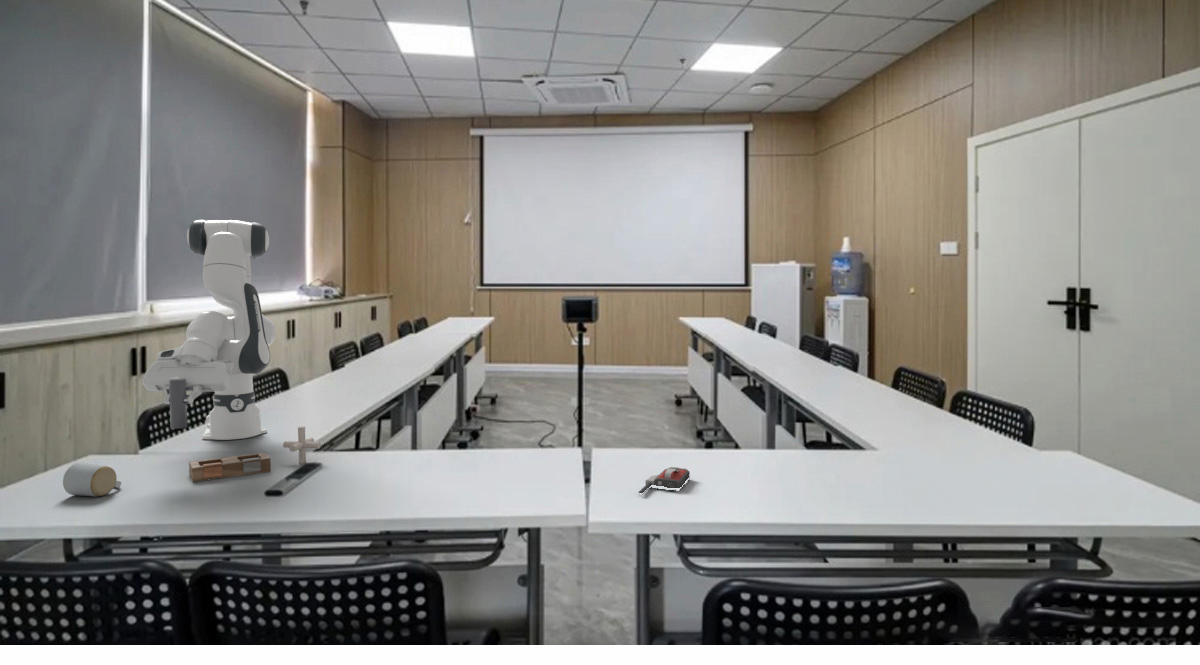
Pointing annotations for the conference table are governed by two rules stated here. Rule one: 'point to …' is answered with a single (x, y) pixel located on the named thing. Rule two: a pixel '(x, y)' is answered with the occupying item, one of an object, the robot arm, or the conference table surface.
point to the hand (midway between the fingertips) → (177, 402)
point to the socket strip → (229, 466)
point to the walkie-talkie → (668, 478)
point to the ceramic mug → (89, 479)
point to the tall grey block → (178, 403)
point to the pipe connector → (301, 444)
